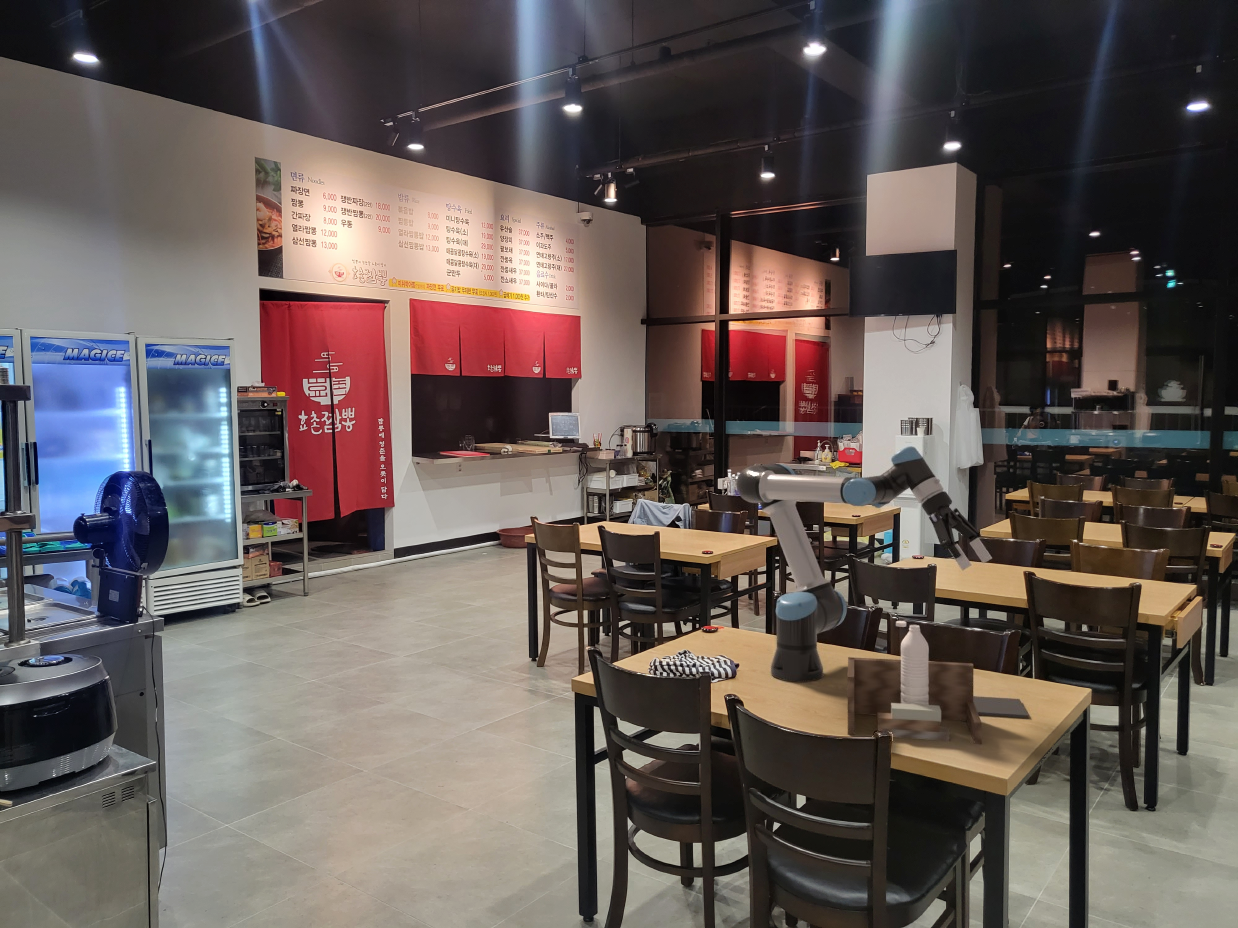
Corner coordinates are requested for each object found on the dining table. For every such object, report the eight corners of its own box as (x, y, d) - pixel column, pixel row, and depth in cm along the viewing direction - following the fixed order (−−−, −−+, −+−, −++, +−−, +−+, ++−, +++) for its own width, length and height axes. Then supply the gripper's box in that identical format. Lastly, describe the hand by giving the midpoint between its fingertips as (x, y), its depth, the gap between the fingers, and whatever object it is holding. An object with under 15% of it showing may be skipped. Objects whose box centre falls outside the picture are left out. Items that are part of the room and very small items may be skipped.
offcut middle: (877, 728, 213) (877, 717, 213) (877, 722, 217) (877, 712, 217) (940, 732, 210) (940, 721, 210) (938, 726, 214) (938, 716, 214)
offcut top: (892, 718, 212) (892, 708, 212) (891, 712, 216) (891, 702, 216) (941, 721, 210) (941, 710, 210) (939, 715, 214) (939, 705, 214)
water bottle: (934, 727, 219) (934, 626, 217) (915, 732, 215) (915, 629, 214) (906, 716, 226) (906, 619, 225) (888, 721, 223) (887, 622, 221)
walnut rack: (847, 734, 215) (847, 676, 214) (848, 710, 232) (848, 657, 231) (981, 743, 207) (981, 684, 206) (972, 718, 224) (972, 663, 223)
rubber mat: (972, 714, 227) (972, 711, 227) (966, 698, 239) (966, 695, 239) (1028, 718, 224) (1028, 715, 223) (1019, 701, 236) (1019, 698, 236)
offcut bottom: (878, 737, 214) (878, 727, 214) (877, 732, 218) (877, 721, 217) (949, 743, 210) (949, 732, 209) (947, 737, 213) (947, 726, 213)
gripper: (923, 493, 235) (969, 563, 228) (962, 486, 253) (1007, 551, 245) (901, 508, 240) (946, 577, 232) (941, 500, 258) (984, 564, 250)
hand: (977, 564), depth 239 cm, fingers open, 13 cm apart
